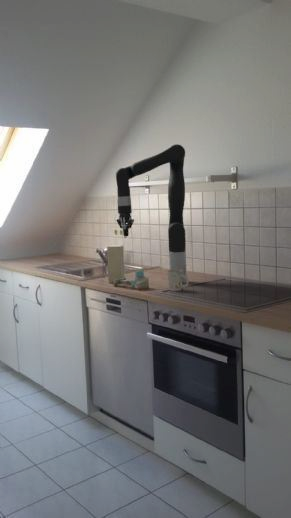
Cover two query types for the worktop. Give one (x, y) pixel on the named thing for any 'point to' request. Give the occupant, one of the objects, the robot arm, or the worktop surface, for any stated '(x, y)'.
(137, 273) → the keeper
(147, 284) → the track
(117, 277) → the toy refrigerator
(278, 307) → the worktop surface
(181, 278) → the mug
